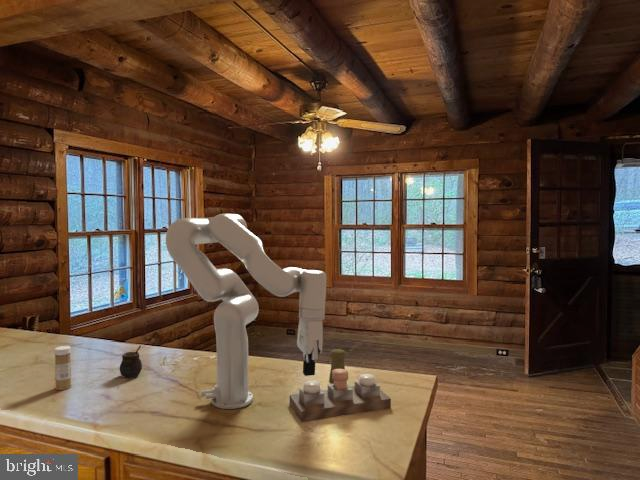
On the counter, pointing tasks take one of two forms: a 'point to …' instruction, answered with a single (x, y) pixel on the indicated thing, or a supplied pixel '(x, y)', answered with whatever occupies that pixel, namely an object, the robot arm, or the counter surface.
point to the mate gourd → (130, 364)
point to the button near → (311, 387)
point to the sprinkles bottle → (62, 367)
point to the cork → (337, 361)
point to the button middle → (340, 378)
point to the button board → (338, 402)
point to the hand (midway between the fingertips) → (308, 374)
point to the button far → (367, 379)
